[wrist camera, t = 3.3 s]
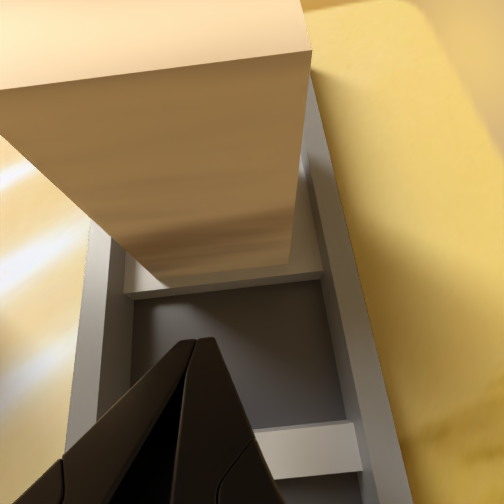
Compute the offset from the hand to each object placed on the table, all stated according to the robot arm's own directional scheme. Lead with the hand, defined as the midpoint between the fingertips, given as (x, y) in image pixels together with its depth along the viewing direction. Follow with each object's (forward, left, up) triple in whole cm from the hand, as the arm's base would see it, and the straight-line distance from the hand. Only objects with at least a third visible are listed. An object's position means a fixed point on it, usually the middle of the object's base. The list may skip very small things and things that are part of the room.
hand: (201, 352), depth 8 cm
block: (+7, 0, -6) cm, 9 cm away
